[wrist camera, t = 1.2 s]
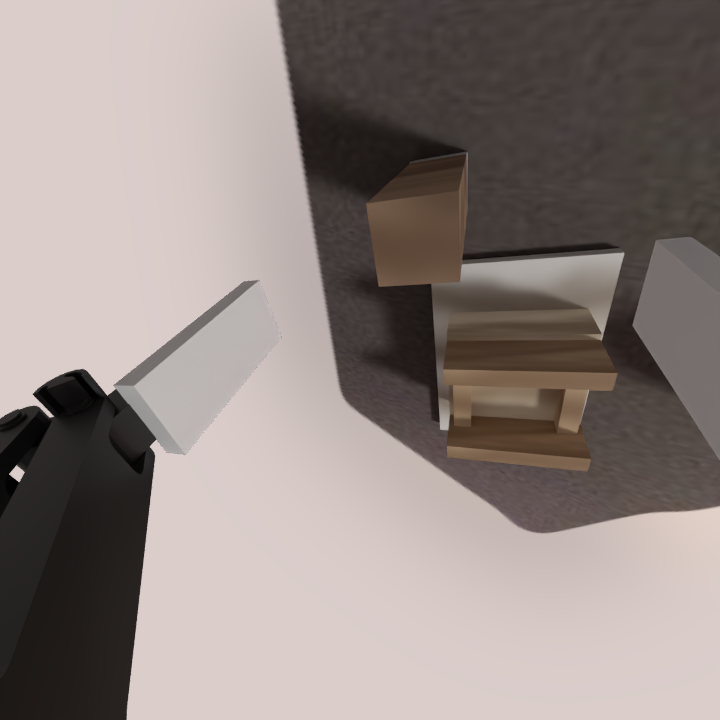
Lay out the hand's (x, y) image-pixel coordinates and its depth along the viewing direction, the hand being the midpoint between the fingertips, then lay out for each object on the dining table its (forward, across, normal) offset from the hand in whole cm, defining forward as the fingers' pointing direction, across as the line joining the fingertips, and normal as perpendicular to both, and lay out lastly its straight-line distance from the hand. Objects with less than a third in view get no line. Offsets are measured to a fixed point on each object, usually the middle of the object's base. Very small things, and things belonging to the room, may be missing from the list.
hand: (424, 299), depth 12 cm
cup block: (+18, +4, -16) cm, 25 cm away
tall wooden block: (+19, -1, 0) cm, 19 cm away
